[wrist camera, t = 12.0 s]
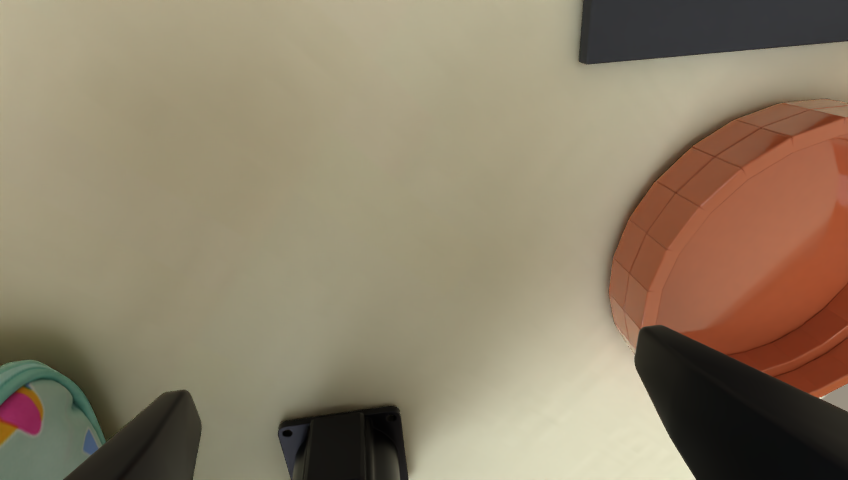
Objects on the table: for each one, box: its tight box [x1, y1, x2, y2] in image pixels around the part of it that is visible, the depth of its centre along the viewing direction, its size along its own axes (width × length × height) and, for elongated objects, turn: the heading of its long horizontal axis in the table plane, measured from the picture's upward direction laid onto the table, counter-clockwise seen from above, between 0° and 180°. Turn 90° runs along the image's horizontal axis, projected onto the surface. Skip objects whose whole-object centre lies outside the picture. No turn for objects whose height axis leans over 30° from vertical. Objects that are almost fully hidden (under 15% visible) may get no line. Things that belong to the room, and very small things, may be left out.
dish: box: [609, 99, 848, 398], centre depth 23 cm, size 15×15×4 cm
